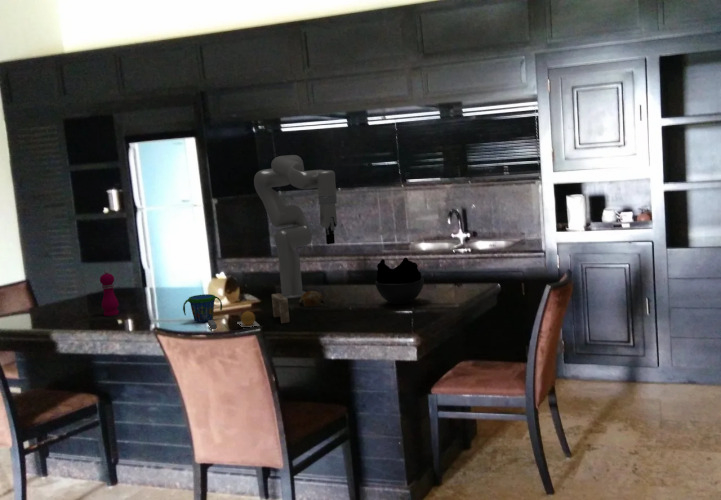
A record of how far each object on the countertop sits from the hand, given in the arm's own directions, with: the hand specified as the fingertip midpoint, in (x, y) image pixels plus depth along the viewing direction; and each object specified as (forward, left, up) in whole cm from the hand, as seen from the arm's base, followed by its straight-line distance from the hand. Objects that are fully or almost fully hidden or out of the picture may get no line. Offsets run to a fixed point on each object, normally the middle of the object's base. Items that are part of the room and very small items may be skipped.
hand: (330, 243), depth 321 cm
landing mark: (+13, -43, -26) cm, 52 cm away
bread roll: (-6, -9, -27) cm, 28 cm away
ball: (+15, -41, -23) cm, 49 cm away
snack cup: (-5, -55, -26) cm, 61 cm away
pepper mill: (-47, -90, -26) cm, 105 cm away
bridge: (+13, -27, -26) cm, 40 cm away
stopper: (+12, -54, -26) cm, 61 cm away
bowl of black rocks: (+17, +23, -26) cm, 39 cm away
